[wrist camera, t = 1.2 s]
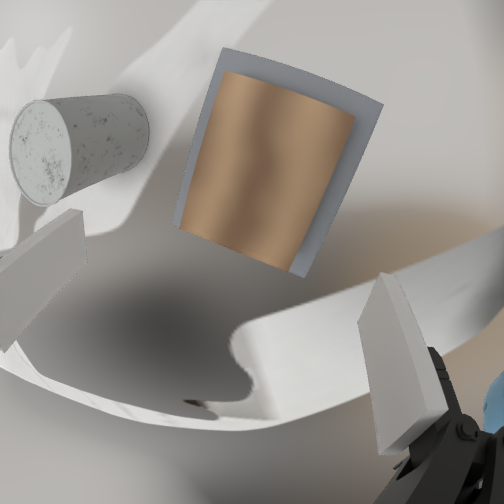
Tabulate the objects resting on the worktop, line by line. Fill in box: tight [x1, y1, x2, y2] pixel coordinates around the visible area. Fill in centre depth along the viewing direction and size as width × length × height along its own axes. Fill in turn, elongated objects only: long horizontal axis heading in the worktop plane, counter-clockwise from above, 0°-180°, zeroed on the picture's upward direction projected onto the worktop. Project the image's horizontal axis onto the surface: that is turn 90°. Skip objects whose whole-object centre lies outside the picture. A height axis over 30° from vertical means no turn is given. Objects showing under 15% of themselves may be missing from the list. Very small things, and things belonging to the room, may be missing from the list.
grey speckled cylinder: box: [9, 94, 149, 207], centre depth 25 cm, size 10×10×12 cm
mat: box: [172, 48, 383, 278], centre depth 29 cm, size 16×20×1 cm
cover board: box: [179, 71, 356, 272], centre depth 26 cm, size 11×15×4 cm
